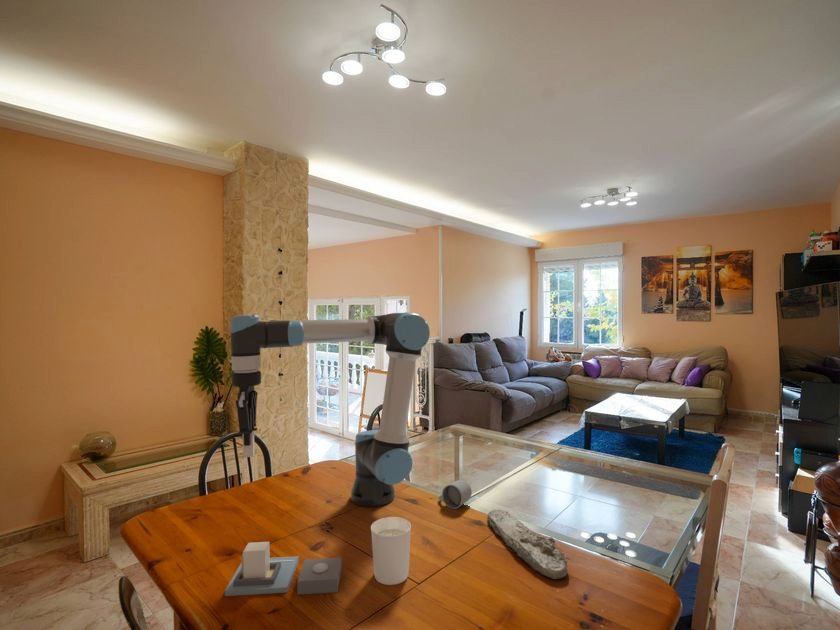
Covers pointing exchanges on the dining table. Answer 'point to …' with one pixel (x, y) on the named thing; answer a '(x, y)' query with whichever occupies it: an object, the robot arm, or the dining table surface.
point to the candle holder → (391, 549)
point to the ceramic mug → (456, 494)
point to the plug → (256, 560)
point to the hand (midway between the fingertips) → (248, 455)
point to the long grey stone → (529, 545)
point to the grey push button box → (319, 576)
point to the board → (265, 579)
